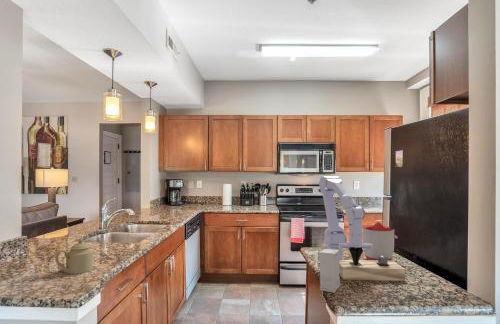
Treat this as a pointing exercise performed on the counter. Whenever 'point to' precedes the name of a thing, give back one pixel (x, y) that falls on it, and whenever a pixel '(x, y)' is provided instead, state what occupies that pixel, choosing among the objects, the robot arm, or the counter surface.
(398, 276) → the maple peg block
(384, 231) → the citrus juicer
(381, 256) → the steel peg
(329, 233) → the robot arm
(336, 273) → the skincare box
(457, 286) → the counter surface
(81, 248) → the olive green teapot
